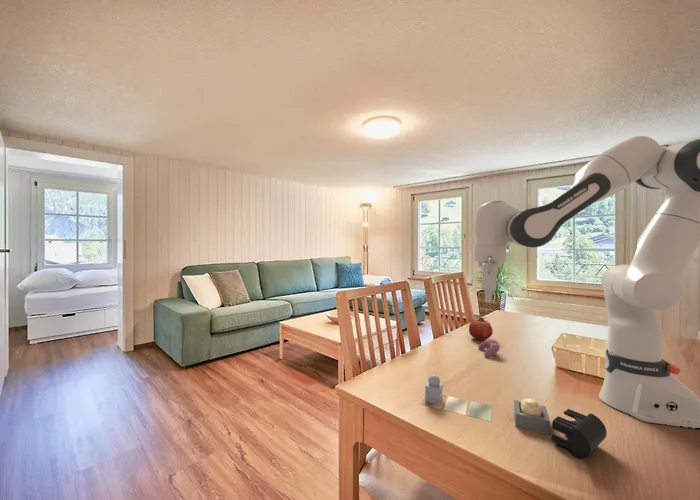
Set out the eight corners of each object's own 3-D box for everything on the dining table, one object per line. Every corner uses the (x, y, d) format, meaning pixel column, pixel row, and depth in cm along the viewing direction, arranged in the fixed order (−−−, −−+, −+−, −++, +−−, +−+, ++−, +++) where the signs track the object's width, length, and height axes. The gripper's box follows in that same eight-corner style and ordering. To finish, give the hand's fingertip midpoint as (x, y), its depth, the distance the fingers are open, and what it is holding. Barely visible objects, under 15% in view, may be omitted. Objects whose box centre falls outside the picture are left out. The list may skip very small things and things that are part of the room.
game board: (492, 406, 84) (492, 404, 84) (492, 426, 75) (492, 423, 75) (426, 391, 92) (426, 389, 92) (418, 408, 83) (418, 405, 83)
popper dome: (540, 417, 77) (540, 399, 76) (542, 426, 73) (542, 407, 72) (519, 412, 78) (520, 395, 78) (521, 422, 74) (521, 403, 74)
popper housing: (545, 421, 77) (545, 406, 77) (549, 437, 71) (550, 421, 71) (513, 414, 80) (514, 400, 80) (515, 428, 74) (515, 413, 74)
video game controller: (494, 362, 119) (503, 346, 118) (483, 356, 120) (492, 340, 119) (486, 352, 129) (494, 338, 128) (476, 347, 129) (484, 333, 129)
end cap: (589, 468, 61) (590, 435, 61) (550, 448, 67) (551, 418, 67) (606, 449, 67) (607, 419, 67) (568, 432, 73) (569, 404, 73)
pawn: (442, 398, 87) (442, 373, 86) (439, 404, 83) (440, 379, 83) (428, 394, 88) (428, 371, 88) (425, 401, 85) (425, 376, 85)
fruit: (486, 335, 147) (486, 315, 147) (497, 342, 138) (497, 320, 137) (464, 335, 147) (465, 315, 146) (474, 342, 137) (474, 320, 137)
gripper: (502, 257, 81) (501, 309, 81) (500, 254, 99) (498, 297, 100) (477, 256, 83) (475, 307, 84) (479, 254, 102) (477, 295, 103)
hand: (488, 301), depth 92 cm, fingers closed
